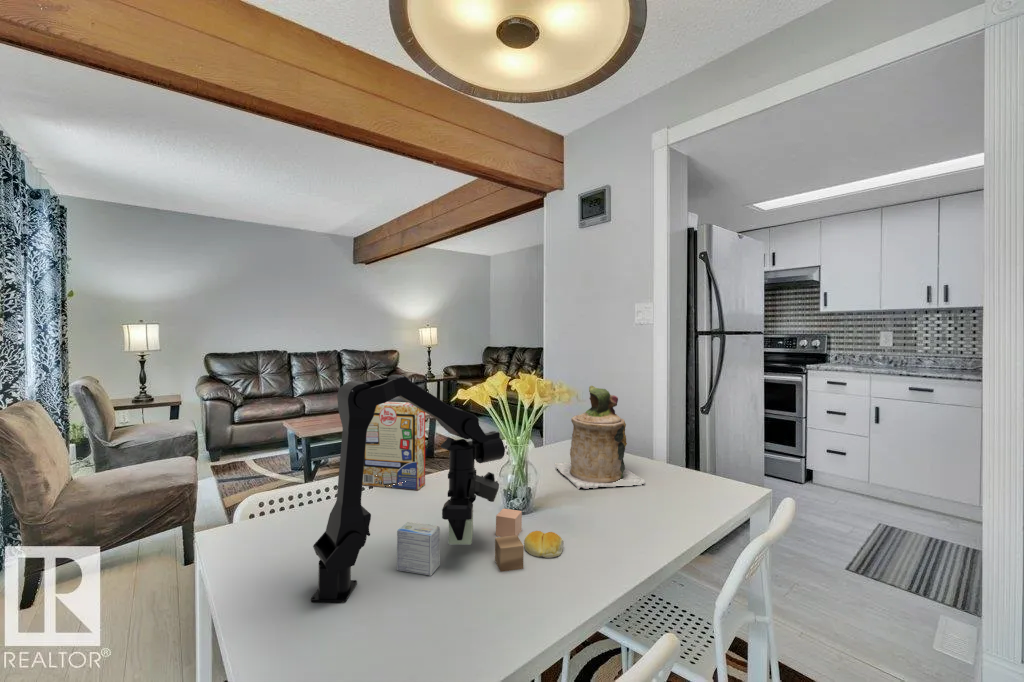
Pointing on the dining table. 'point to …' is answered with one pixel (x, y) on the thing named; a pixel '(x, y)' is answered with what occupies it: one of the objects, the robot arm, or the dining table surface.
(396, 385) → the robot arm
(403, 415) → the board game box
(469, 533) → the sage cube
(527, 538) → the bread roll
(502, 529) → the terracotta cube
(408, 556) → the medicine box
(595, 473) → the cookie jar
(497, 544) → the walnut cube
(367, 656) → the dining table surface
